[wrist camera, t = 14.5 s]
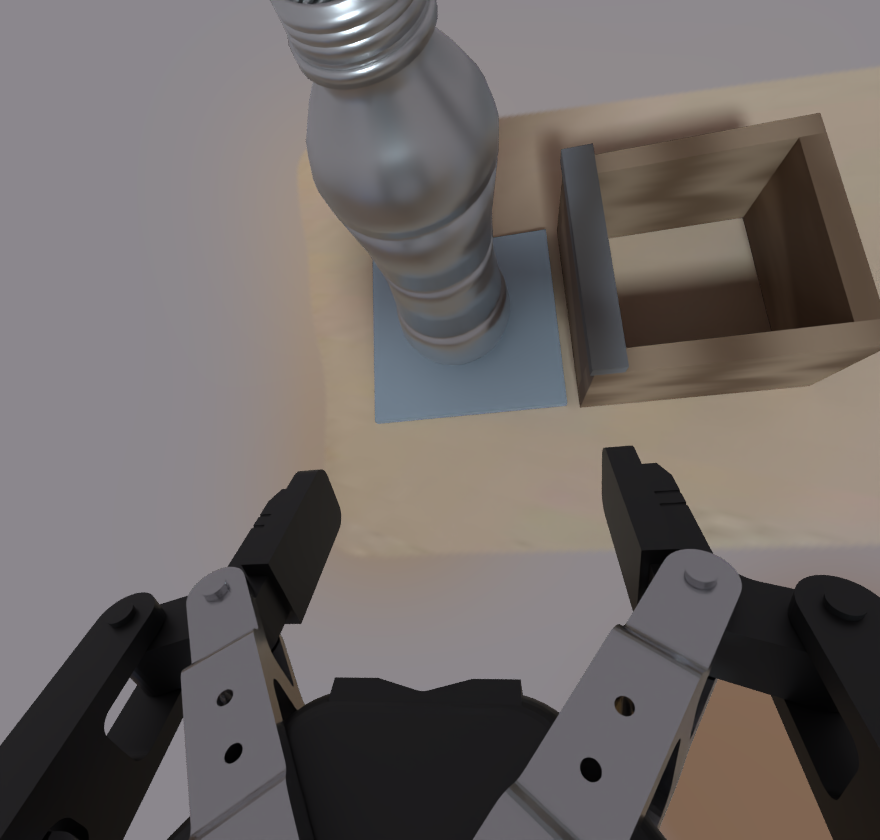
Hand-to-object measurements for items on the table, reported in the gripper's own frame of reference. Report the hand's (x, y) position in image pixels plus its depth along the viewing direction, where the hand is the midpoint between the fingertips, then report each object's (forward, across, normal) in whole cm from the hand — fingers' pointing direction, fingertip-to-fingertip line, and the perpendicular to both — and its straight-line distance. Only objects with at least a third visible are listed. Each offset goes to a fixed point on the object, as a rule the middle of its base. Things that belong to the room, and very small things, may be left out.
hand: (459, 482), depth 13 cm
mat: (+18, +1, +2) cm, 19 cm away
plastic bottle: (+18, +1, +2) cm, 18 cm away
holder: (+19, -12, +2) cm, 22 cm away
